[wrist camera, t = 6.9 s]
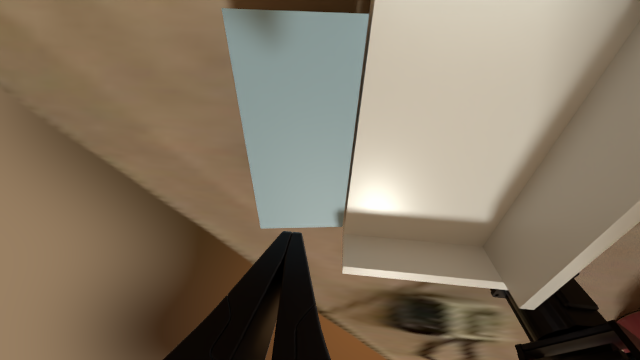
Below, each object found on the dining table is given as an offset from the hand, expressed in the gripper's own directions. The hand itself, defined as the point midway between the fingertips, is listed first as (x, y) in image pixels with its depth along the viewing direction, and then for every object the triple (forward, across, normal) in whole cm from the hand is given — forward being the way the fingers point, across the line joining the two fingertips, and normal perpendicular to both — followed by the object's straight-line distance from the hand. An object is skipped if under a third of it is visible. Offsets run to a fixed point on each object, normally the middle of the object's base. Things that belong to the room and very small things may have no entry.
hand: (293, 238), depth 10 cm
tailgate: (+8, -3, 0) cm, 9 cm away
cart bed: (+11, -10, 0) cm, 15 cm away
